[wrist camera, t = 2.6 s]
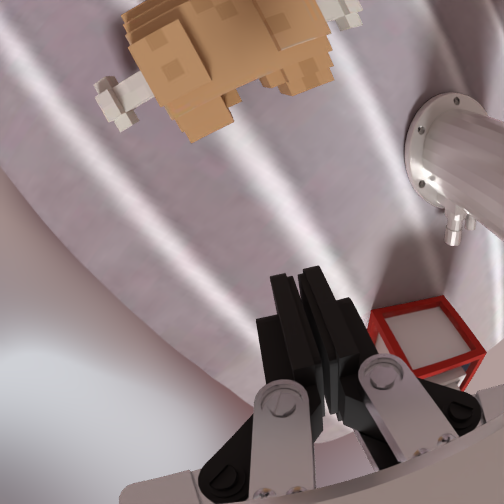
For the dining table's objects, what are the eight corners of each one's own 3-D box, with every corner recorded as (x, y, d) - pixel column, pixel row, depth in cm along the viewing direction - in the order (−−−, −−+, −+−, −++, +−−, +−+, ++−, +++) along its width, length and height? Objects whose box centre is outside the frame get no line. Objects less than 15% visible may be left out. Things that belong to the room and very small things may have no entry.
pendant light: (358, 367, 44) (425, 554, 18) (371, 309, 38) (475, 536, 12) (422, 351, 44) (502, 511, 19) (443, 294, 38) (558, 475, 13)
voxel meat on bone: (103, 54, 21) (48, 48, 13) (299, -34, 19) (339, -78, 10) (157, 149, 26) (127, 187, 18) (347, 63, 24) (407, 63, 15)
